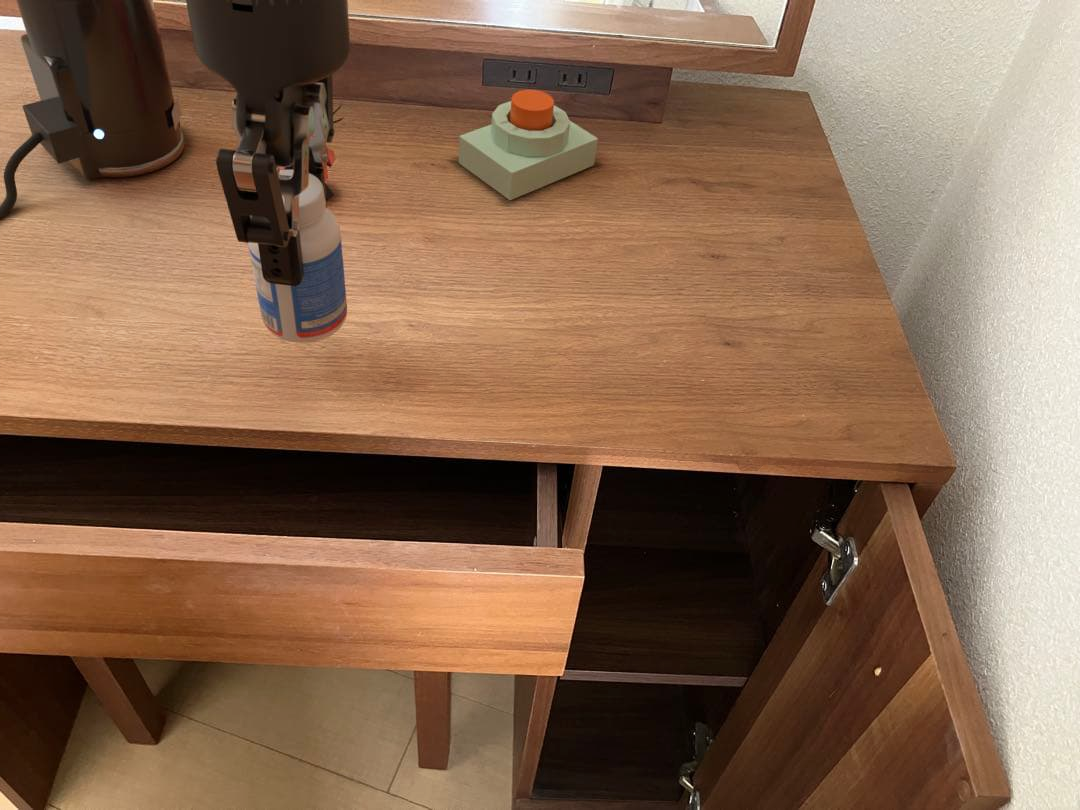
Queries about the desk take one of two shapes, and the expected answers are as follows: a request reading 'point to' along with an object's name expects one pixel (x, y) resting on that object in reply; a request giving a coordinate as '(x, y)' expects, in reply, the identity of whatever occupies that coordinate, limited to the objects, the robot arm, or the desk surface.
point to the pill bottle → (307, 276)
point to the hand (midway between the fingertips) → (297, 248)
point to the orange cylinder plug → (531, 110)
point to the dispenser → (525, 153)
